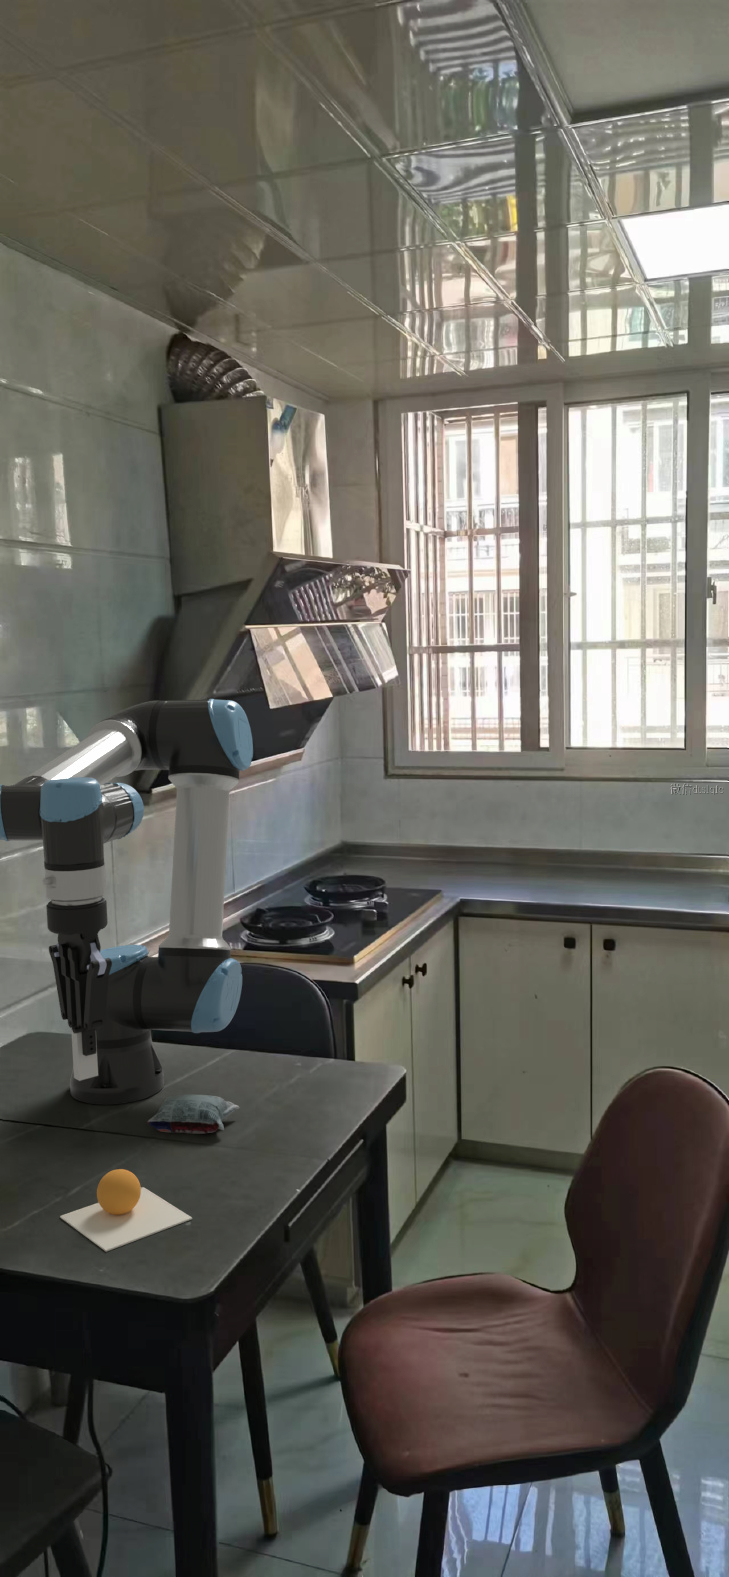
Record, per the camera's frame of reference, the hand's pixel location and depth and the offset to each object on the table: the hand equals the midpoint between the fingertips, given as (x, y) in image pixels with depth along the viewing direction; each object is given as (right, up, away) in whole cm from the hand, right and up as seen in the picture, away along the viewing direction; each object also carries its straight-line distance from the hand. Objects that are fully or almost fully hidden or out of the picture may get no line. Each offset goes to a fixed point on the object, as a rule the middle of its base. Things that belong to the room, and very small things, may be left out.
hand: (86, 1076), depth 154 cm
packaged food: (+11, -14, +24) cm, 30 cm away
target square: (+6, -17, -5) cm, 18 cm away
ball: (+5, -14, -4) cm, 15 cm away
